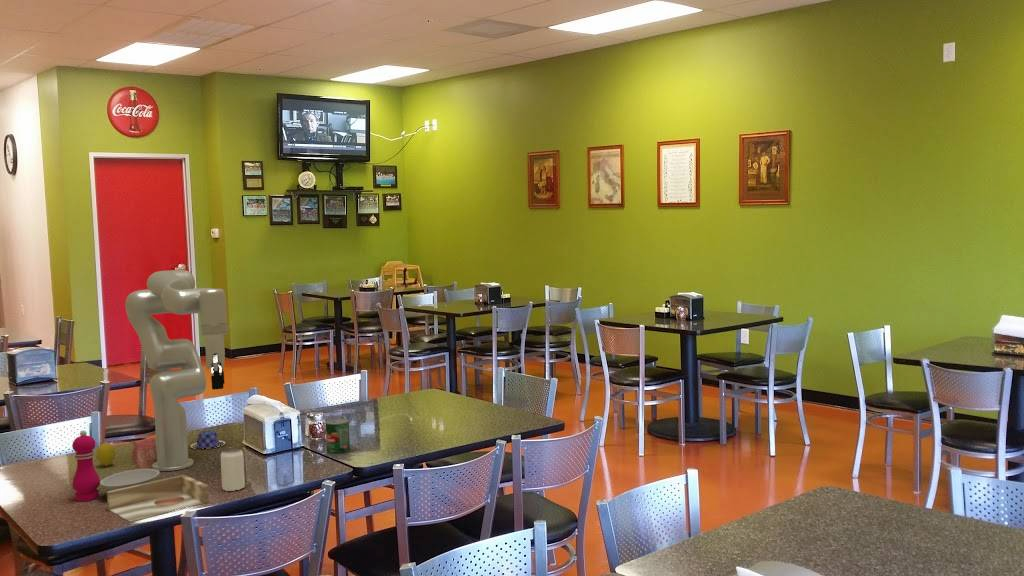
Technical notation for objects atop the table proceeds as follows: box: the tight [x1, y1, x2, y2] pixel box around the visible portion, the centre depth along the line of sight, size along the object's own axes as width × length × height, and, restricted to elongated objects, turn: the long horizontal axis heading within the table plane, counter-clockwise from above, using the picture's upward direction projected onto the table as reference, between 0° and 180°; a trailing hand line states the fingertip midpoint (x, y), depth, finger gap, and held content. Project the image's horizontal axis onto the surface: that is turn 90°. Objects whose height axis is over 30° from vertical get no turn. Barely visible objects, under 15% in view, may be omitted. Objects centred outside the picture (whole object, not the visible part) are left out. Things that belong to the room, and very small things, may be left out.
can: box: [220, 446, 246, 492], centre depth 257 cm, size 6×6×12 cm
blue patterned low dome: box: [189, 430, 226, 450], centre depth 309 cm, size 12×12×5 cm
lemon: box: [96, 442, 116, 467], centre depth 285 cm, size 6×6×8 cm
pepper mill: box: [71, 430, 101, 502], centre depth 251 cm, size 7×7×20 cm
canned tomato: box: [324, 418, 351, 456], centre depth 296 cm, size 8×8×11 cm
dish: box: [99, 468, 161, 491], centre depth 255 cm, size 18×14×5 cm
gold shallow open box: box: [106, 474, 210, 523], centre depth 243 cm, size 16×22×5 cm
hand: (218, 386), depth 259 cm, fingers open, 9 cm apart
